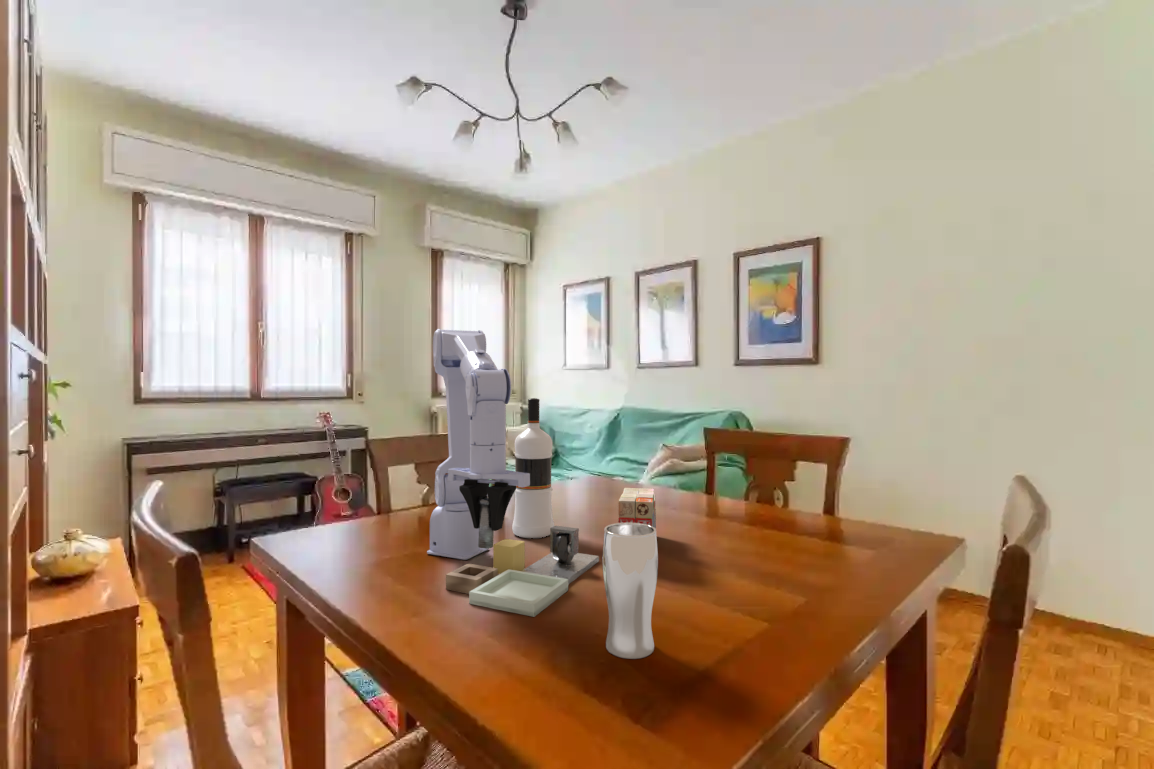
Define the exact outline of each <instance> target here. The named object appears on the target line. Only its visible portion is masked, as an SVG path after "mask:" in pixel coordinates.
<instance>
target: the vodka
mask: <svg viewBox="0 0 1154 769" xmlns="http://www.w3.org/2000/svg"><path fill="white" fill-rule="evenodd" d="M527 402H528V403H527V427H526V429H525V430H523V431H522V432H520V433H519V434H517V436H516V437H515V439H514V456H515V459H514V464H515V465H514V466H515V467H514V468H515V469H514V471H516V472H522V473H530V485H529V486H526V487H518V486H516V490H515V492H514V499H515V500H514V501H515V502H514V512H513V513H514V514H513V521H512V524H511V525H512V526H511V527H512V529H511V530H512V532H513V534H514V535H515V536H517V537H518V536H519V538H522V539H531V538H533V539H542V537H543V538H546V536H547V537H549V536H550V528H551V527H553V526H555V521H554V519H553V518H554V516H553V505H552V503H553V501H552V494H553V493H552V492H553V487H552V456H553V453H552V452H553V440H552V437H551V435H549V434H548V433H547V432H545V431H544V430H543V429H541V428H540V427H541V426H540V399H539V398H536V397H534V398H528V399H527Z"/></svg>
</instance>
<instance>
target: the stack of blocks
mask: <svg viewBox="0 0 1154 769" xmlns="http://www.w3.org/2000/svg"><path fill="white" fill-rule="evenodd" d="M656 510H657V509H656V494H655V489H654V488H648V487H647V488H643V487H642V488H640V487H639V488H637V487H636V488H635V487H634V488H633V487H624V488H623V491H622V494H621V495H620V497H619V498H618V509H617V511H618V519H617V520H618V522H617V523H626V522H629V523H641V524H647V525H650V526H653V527H654V528H655V529H656V530H657V525H656V523H657V522H656V521H657V511H656Z"/></svg>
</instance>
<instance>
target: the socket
mask: <svg viewBox="0 0 1154 769" xmlns="http://www.w3.org/2000/svg"><path fill="white" fill-rule="evenodd" d="M498 575H499V574H498V568H493V566H492V567H490V566H485V565H480V564H472V563H466V564H464V565H463V566H460V567H458V568H456V569H453V570H452V571H449V572H447V573H446V574H445V590H447V591H452V592H453V591H454V592H458V593H463V594H467V595H469V592H470V591H471V590H473V589H475V588H477V587H478V586H480V585H482V584H484V583H485V582H487V581H489V580H491V579H492V578H494V577H496V576H498Z"/></svg>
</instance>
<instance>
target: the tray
mask: <svg viewBox="0 0 1154 769" xmlns="http://www.w3.org/2000/svg"><path fill="white" fill-rule="evenodd" d="M568 591H569V584H568V579H564V578H558V577H552V576H546V575H540V574H534V573H528V572H522V571H516V570H510V569H508V570H506V571H505V572H503V573H501V574H498V576H496V577H494V578H492V579H491V580H489V581H487V582H485V583H484V584H482V585H480V586H478V587H477V588H475V589H473V590H471V591H470V592H469V594H468V595H469V596H468V597H469V599H468V604H470V605H474V606H479V607H484V608H488V609H493V610H497V611H504V612H509V613H513V614H518V615H523V616H527V617H528V616H529V617H532V618H533V617H534V618H535V617H536V616H538V615H539V614H540V613H541V612H542V611H544V610H545V609H546V608H548V607H549V606H551V604H553V603H554V602H555V601H557V600H558V599H559V598H560V597H562V596H563V595H564V594H565V593H567V592H568Z"/></svg>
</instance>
